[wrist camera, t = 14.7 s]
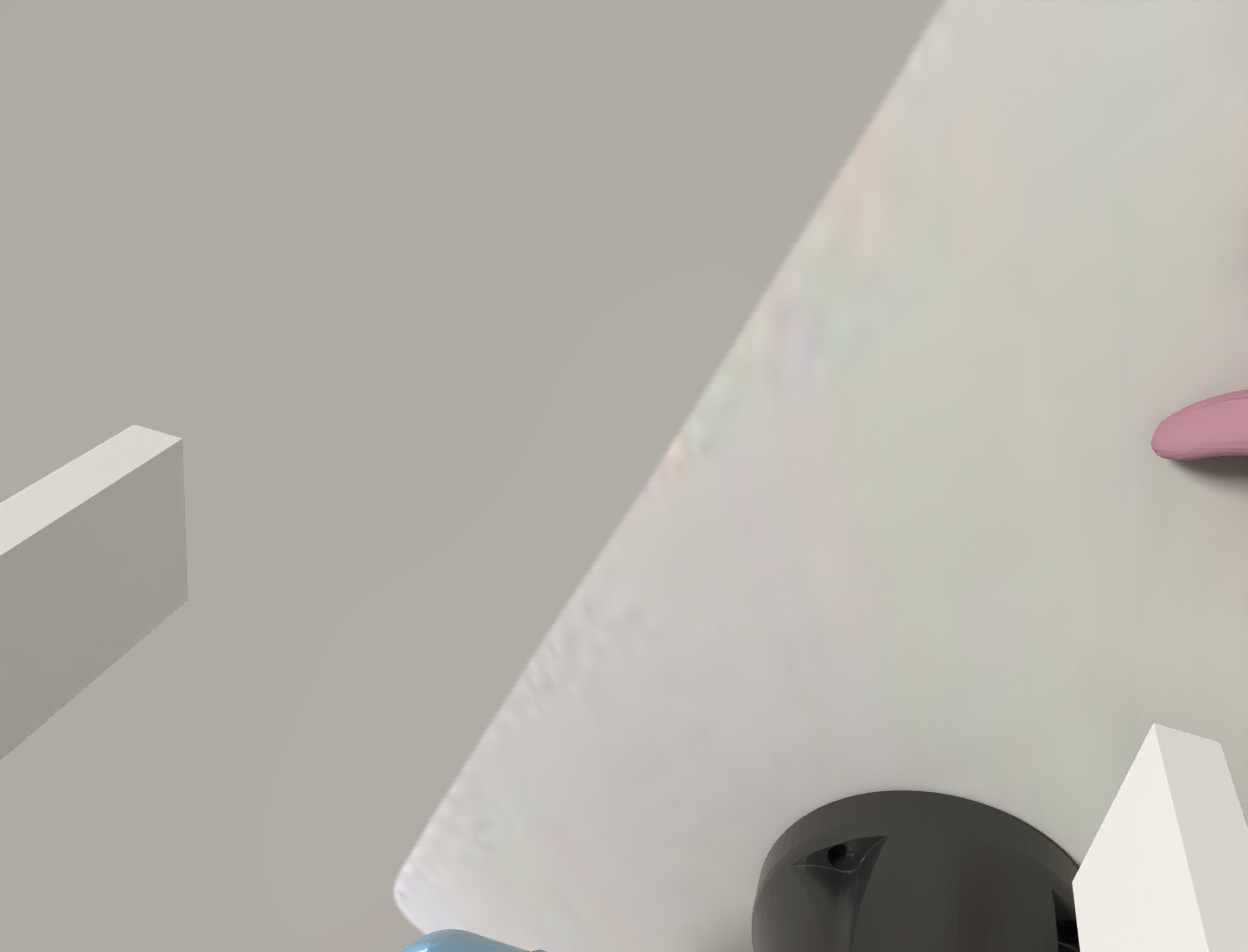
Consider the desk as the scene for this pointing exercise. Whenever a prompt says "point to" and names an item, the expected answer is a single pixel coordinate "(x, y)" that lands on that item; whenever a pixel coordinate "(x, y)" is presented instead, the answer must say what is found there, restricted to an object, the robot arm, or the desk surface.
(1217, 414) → the video game controller
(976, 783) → the desk surface
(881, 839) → the robot arm
